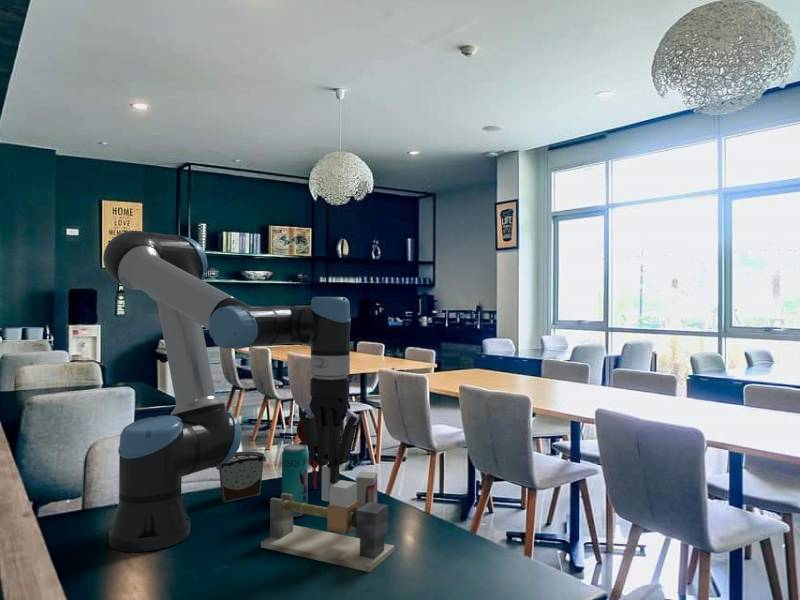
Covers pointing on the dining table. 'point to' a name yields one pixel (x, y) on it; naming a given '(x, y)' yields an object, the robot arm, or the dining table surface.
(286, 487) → the beverage can
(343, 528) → the two-tone block
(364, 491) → the small box
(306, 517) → the dining table surface
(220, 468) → the food container
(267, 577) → the dining table surface
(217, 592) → the dining table surface
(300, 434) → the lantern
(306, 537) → the cord rig
